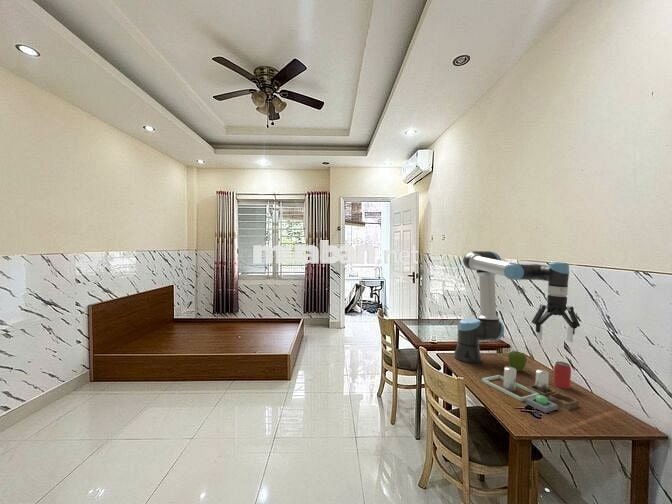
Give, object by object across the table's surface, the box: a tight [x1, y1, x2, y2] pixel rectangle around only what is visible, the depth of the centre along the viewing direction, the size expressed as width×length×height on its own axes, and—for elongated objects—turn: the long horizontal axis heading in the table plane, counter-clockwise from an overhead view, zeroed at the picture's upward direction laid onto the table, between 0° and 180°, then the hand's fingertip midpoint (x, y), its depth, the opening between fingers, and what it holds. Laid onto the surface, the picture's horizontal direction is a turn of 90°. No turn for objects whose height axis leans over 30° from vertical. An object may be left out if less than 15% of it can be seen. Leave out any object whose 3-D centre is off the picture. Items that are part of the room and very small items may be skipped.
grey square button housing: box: [525, 396, 559, 414], centre depth 129 cm, size 8×8×3 cm
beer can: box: [552, 361, 572, 390], centre depth 150 cm, size 7×7×12 cm
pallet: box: [524, 384, 582, 411], centre depth 137 cm, size 18×10×3 cm, turn 25°
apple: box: [507, 350, 528, 373], centre depth 168 cm, size 9×8×12 cm
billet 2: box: [534, 368, 550, 393], centre depth 141 cm, size 5×5×10 cm
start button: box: [536, 395, 548, 406], centre depth 129 cm, size 4×4×3 cm
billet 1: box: [502, 366, 517, 392], centre depth 145 cm, size 5×5×10 cm
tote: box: [480, 374, 540, 402], centre depth 145 cm, size 21×13×2 cm, turn 25°
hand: (554, 340), depth 145 cm, fingers open, 13 cm apart
